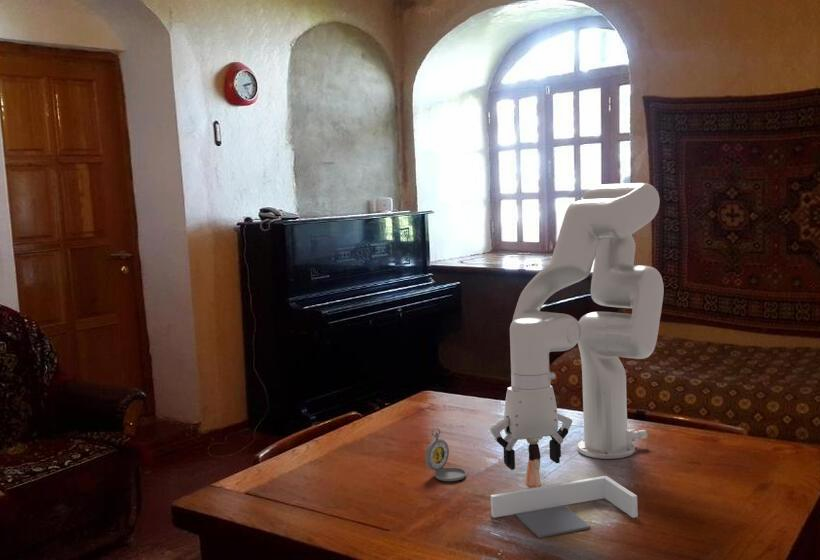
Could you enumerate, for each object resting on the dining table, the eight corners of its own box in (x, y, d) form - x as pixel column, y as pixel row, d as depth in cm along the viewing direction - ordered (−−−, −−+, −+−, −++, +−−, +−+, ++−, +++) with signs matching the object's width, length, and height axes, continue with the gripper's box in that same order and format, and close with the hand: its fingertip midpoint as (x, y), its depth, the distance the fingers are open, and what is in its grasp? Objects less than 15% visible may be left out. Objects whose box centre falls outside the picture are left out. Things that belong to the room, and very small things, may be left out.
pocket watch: (464, 483, 166) (461, 436, 165) (424, 482, 168) (421, 436, 167) (469, 469, 174) (466, 424, 173) (431, 468, 176) (428, 424, 175)
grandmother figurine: (521, 482, 165) (518, 422, 164) (539, 480, 165) (537, 420, 164) (530, 496, 158) (527, 433, 156) (549, 494, 158) (546, 432, 156)
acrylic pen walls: (606, 495, 156) (606, 475, 155) (637, 516, 145) (637, 495, 145) (491, 515, 149) (490, 495, 149) (515, 539, 139) (514, 517, 138)
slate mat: (564, 507, 151) (564, 505, 151) (590, 528, 142) (590, 526, 142) (515, 516, 149) (515, 514, 148) (538, 538, 139) (538, 535, 139)
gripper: (561, 372, 165) (563, 453, 166) (482, 381, 160) (485, 464, 162) (578, 380, 158) (580, 464, 159) (496, 389, 153) (499, 476, 155)
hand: (532, 464), depth 161 cm, fingers open, 9 cm apart
